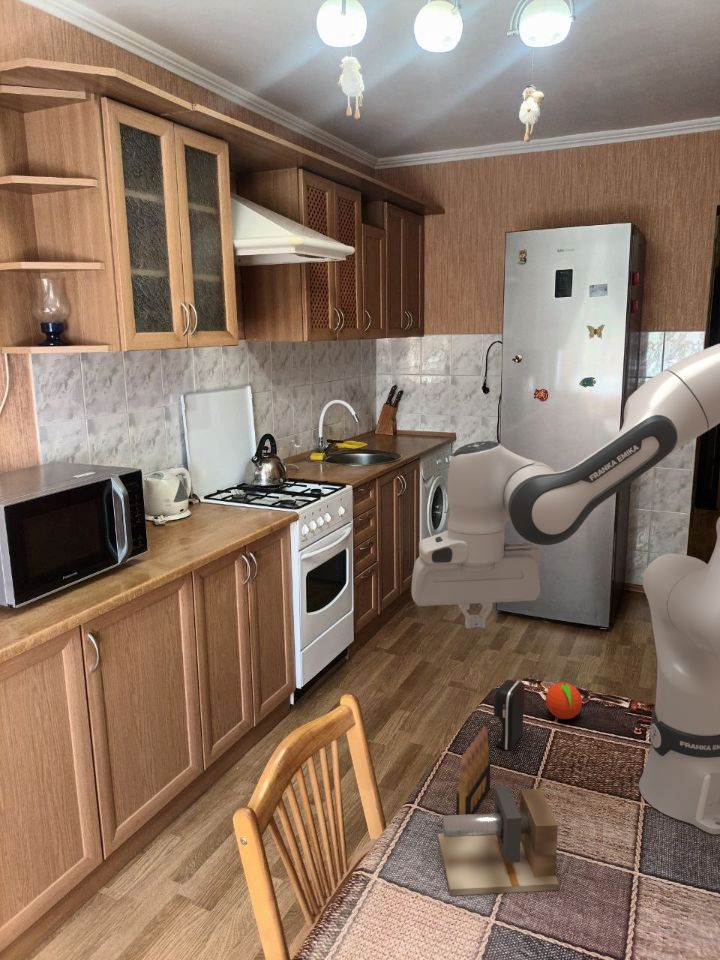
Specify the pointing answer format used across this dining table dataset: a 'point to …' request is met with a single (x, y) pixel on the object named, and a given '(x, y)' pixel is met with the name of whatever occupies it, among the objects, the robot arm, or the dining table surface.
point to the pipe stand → (483, 865)
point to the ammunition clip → (474, 775)
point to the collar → (508, 824)
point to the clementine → (563, 700)
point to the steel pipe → (479, 824)
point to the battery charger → (510, 712)
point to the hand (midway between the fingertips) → (475, 627)
